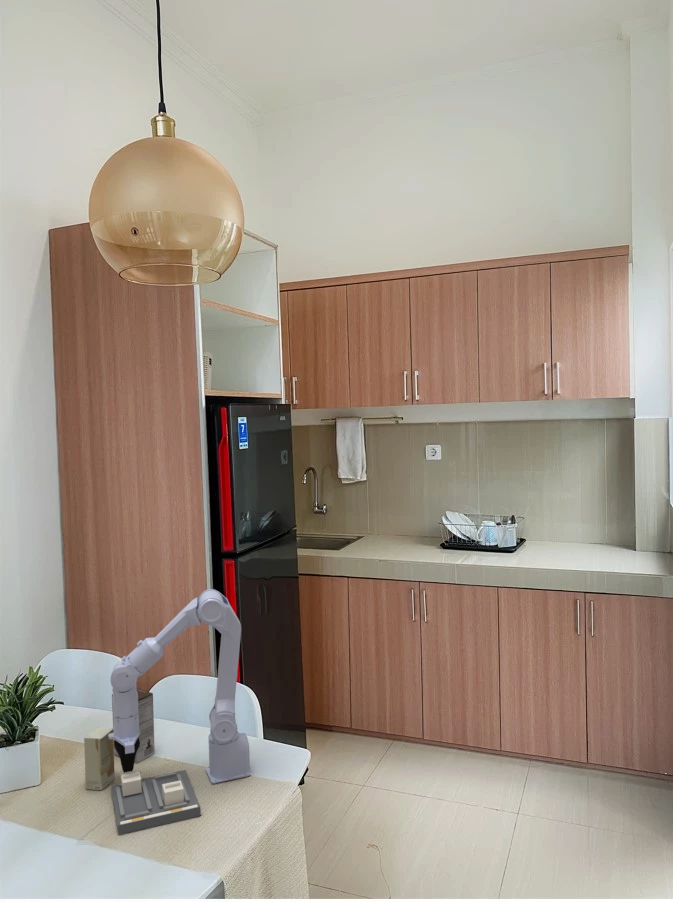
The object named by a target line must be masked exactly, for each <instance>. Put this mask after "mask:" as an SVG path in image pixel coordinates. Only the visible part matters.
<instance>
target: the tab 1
mask: <svg viewBox="0 0 673 902" xmlns="http://www.w3.org/2000/svg"><path fill="white" fill-rule="evenodd" d="M141 779H142V777H141V773H140V771H134V772H130V773H129V772H128V773H124V774H121V775H120V783H121V788H122V793H123V796H128V795H133V794H137V793H142V788H141Z"/></svg>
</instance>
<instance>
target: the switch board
mask: <svg viewBox="0 0 673 902" xmlns="http://www.w3.org/2000/svg"><path fill="white" fill-rule="evenodd" d="M175 781H181V783H182V786H183V789H184V803H179V804H175V805H170V806H166V807H165V804H164V801H163V794H162V784H166V783H171V782H175ZM110 787H111V790H110V791H111V798H112V803H113V810H114V817H115V823H116V828H117V834H118V836H121V835H125V834H130V833H133V832H138V831H142V830H146V829H149V828H155V827H159V826H163V825H167V824H172V823H177V822H180V821H181V822H182V821H184V820H190V819H193V817H194V818H198V817H201V815H202V814H201V804H200V802H199V801H198V797H197V795H196V793H195V790H194V787H193V784H192V782H191V779H190V778H189V775H188V772H187V769H184V770H179V771H172V772H169V773H163V774H157V775H154V776H149V777H143V778H141V788H142V793H137V794H133V795H128V796H123V793H122V788H121V782H119V783H116V784H111V786H110ZM197 816H198V817H197Z"/></svg>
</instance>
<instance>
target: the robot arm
mask: <svg viewBox="0 0 673 902" xmlns="http://www.w3.org/2000/svg"><path fill="white" fill-rule="evenodd" d="M202 623H204V624H206V625H209V626H211V627H213V628H215V629H216V630H217V631H218V632H219V633H220V634H221V637H220V647H219V658H218V669H217V680H216V688H215V689H216V691H215V692H216V693H215V696H214V704H213V705H212V706H213V707H212V708H211V709H210V713H209V721H210V723H209V724H210V730H209V734H208V738H207V739H208V754H209V755H208V758H209V759H208V762H209V763H208V765H209V766H206V767H205V768H204V769H205V772H206V774H207V777H208V778H209V779H208V780H209V781H210V783H211V784H213V785H214V784H219V783H222V782H228V781H232V780H237V779H242V778H246V777H250V776H252V773H251V760H250V759H251V758H250V757H251V756H250V755H251V753H250V752H251V751H250V743H249V738H248V736H247V733H246V732H239V730H238V725H237V720H236V693H237V692H236V691H237V681H238V669H239V659H240V649H241V648H240V647H241V646H240V645H241V637H242V624H241V622H240V619H239V617H238V616H237V614H236V612H235V611H234V609H233V607H232V606H231V604H230V602H229V599H228V598H227V597H225V595H223V594H222V593H221V592H220V591H218V590H216V589H215V588H214V589H213V588H210V589H205V590H204V591H202V592H201V593H200V594H199V596H198V597H195V598H193V599H192V600H191V601H190V602H189V603H188V604H187V605H186V606H184V607H183V608H182V609H181V610H180V611H179V612H178V614H177V615H175V616H174V618H172V619H171V620H170V622H169V623H168V624H166V625H165V627H164V628H163V629H162V630H160V632H158V634H157V635H156V636H154V637H145V639H144V640H142V639H140V640H138V642H137V643H136V647H135V648H134V649H133V650H132V651H130V653H129V654H128V655H123V657H121V660H120V661H119V662H117V663H116V664H115V665H114V667H113V669H112V672H111V675H110V684H111V686H112V694H113V696H112V695H111V703H112V702H113V711H112V728H113V727H114V732H113V733H110V734H109V735H108V736H109V739H110V740H111V739H113V742H114V745H115V749H116V751H117V752H118V754H119V756H118V757H119V759H120V764H121V769H122V772H123V773H124V774H127V773H129V772H130V773H132V772H133V771H134V767H135V756H136V753H137V750H138V748H139V746H140V741H139V735H140V729H139V714H138V692H137V689H138V687H137V681H138V678H139V677H141V676H143V675H144V674H145V673H146V672H147V671H149V669H150V668H151V667H153V666H154V665H155V664H157V662H158V661H159V660H161V658H162V657H163V656H164V648H166V647H167V645H169V644H170V643H171V642H172V641H173V640H175V639H176V638H177V637H178V636H179V635H180V634H182V633H183V632H184V631H185V630H186V629H187V628H189V627H193V626H194V627H197V626H201V624H202Z"/></svg>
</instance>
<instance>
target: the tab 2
mask: <svg viewBox="0 0 673 902" xmlns="http://www.w3.org/2000/svg"><path fill="white" fill-rule="evenodd" d="M162 794H163V801H164V804H165V807H166V806H170V805H175V804H179V803H184V789H183V786H182V783H181V781H175V782H171V783H166V784H162Z"/></svg>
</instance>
